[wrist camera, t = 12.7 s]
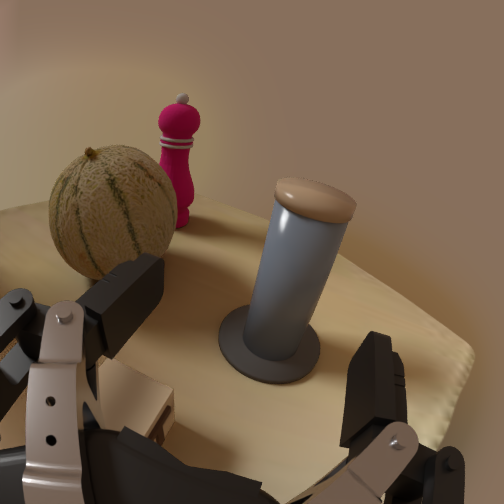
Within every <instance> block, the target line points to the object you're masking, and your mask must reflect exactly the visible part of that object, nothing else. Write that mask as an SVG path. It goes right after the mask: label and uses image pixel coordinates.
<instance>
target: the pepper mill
mask: <svg viewBox="0 0 504 504" xmlns="http://www.w3.org/2000/svg"><path fill="white" fill-rule="evenodd" d="M176 101H177V104H172V105H169V106H167V107H166V108H164V110H163V111H162V112H161V114H160V116H159V120H158V124H159V128H160V129H161V131H162V132H163V135H161V136H160V139H161V140H160V142H159V144H160V145H161V146H162V154H161V159H160V163H159V165H160V166H161V167H162V169H163V170H164V171H165V173H166V174H167V176H168V177H169V179H170V180H171V183H172V186H173V188H174V191H175V193H176V199H177V211H178V212H177V216H178V217H177V222H176V228H180V227H183V226H185V225H186V224H187V223H188V220H189V210H188V208H187V207H189V206H190V205H191V204H192V202H193V200H194V186H193V182H192V178H191V175H190V171H189V164H188V158H189V151H190V148H192V147H193V141H194V138H193V137H192V135H193V134H194V133H195V132H196V131H197V130H198V128H199V125H200V115H199V112H198V111H197V110H196V109H195V108H194V107H192V106H190V105H187V102H188V101H189V97H188V95H187V94H185V93H181V94H179V95H178V96H177V99H176Z"/></svg>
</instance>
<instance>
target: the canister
mask: <svg viewBox="0 0 504 504" xmlns="http://www.w3.org/2000/svg"><path fill="white" fill-rule="evenodd" d="M274 197H275V203H274V207H273V211H272V216H271V220H270V224H269V228H268V232H267V236H266V241H265V245H264V249H263V253H262V257H261V261H260V265H259V270H258V274H257V278H256V282H255V286H254V290H253V294H252V298H251V302H250V306H249V310H248V314H247V318H246V322H245V326H244V330H243V341H244V343H245V345H246V347H247V348H248V349H249V350H250V351H251V352H252V353H253V354H255V355H256V356H258V357H260V358H263V359H266V360H270V361H281V360H285V359H288V358H290V357H291V356H293V355H294V354H295V353H296V351H297V349H298V347H299V345H300V342H301V340H302V338H303V336H304V334H305V331H306V329H307V327H308V324H309V322H310V320H311V317H312V315H313V313H314V310H315V308H316V306H317V303H318V301H319V298H320V296H321V294H322V291H323V289H324V286H325V284H326V281H327V279H328V276H329V274H330V271H331V268H332V266H333V263H334V261H335V258H336V255H337V253H338V250H339V247H340V244H341V242H342V239H343V236H344V233H345V231H346V228H347V225H348V222H349V221H350V220H351V219H352V217H353V214H354V211H355V208H356V202H355V200H353V198H351V197H350V196H349V195H347V194H345V193H344V192H342V191H340V190H338V189H336V188H334V187H331V186H329V185H326V184H323V183H320V182H317V181H313V180H308V179H302V178H294V177H286V178H281V179H279V180H278V181H277V185H276V190H275V194H274Z"/></svg>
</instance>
